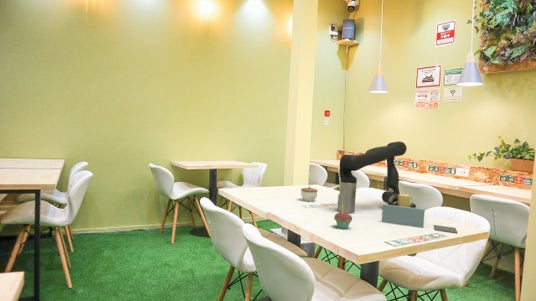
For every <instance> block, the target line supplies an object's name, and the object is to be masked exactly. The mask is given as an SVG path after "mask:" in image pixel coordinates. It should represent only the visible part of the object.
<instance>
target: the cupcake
mask: <svg viewBox="0 0 536 301" xmlns="http://www.w3.org/2000/svg"><path fill="white" fill-rule="evenodd" d="M333 219H334V220H335V222H336V226H337V228H339V229H343V230H345V229H349V225H350V224H351V223H352V221H353V217H352V215H350V213H345V212H343V203H342V212H336V213H335V215H334V218H333Z"/></svg>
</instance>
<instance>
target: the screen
mask: <svg viewBox="0 0 536 301" xmlns="http://www.w3.org/2000/svg"><path fill="white" fill-rule="evenodd" d="M381 211H382V212H381V222H382V223H387V224H395V225H401V226H408V227H414V228H415V227H417V228H420V229H421V228H423V229H424V223H425V222H424V221H425V212H426V211H425V208H418V207H416V208H410V207H402V206H394V205H387V203H386V204H382V210H381Z"/></svg>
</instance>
